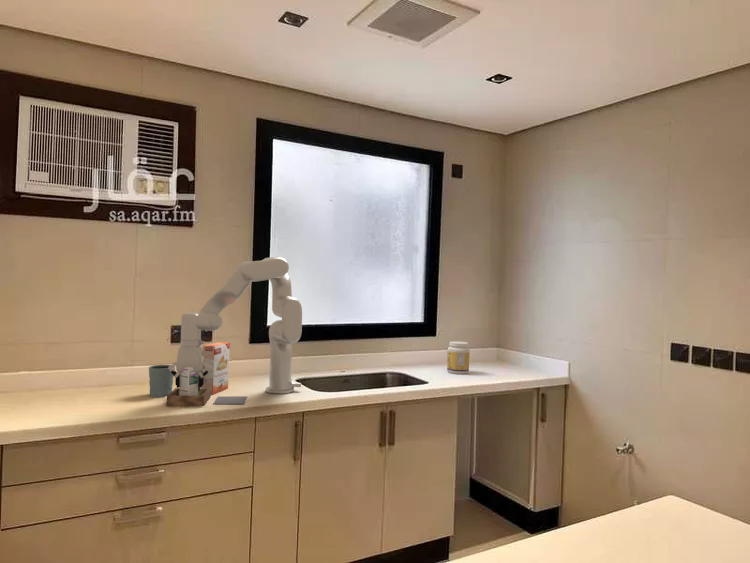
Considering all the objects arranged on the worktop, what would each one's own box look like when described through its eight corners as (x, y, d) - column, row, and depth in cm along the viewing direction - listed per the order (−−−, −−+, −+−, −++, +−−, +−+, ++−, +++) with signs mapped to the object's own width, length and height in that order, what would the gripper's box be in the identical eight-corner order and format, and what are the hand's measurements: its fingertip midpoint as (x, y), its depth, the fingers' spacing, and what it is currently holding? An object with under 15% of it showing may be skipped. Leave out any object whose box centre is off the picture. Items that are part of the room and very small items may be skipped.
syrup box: (188, 404, 204) (189, 367, 204) (178, 402, 207) (179, 366, 207) (200, 401, 209) (200, 365, 209) (190, 399, 212) (191, 364, 212)
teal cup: (142, 396, 216) (143, 367, 215) (160, 391, 225) (161, 363, 225) (162, 398, 212) (162, 369, 212) (179, 393, 222) (180, 365, 221)
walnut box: (210, 397, 216) (210, 388, 216) (203, 406, 202) (204, 396, 202) (175, 397, 214) (175, 388, 214) (166, 406, 200) (166, 396, 200)
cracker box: (213, 395, 221) (214, 346, 221) (200, 394, 222) (202, 345, 222) (229, 388, 235) (230, 342, 234) (217, 387, 236) (218, 341, 236)
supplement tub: (444, 370, 295) (445, 340, 295) (465, 370, 297) (466, 341, 296) (449, 374, 283) (450, 343, 283) (471, 374, 284) (472, 344, 284)
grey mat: (247, 397, 219) (247, 396, 219) (244, 404, 207) (244, 403, 207) (218, 397, 217) (218, 396, 217) (213, 404, 205) (213, 403, 205)
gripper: (214, 342, 213) (213, 385, 213) (170, 342, 210) (169, 385, 211) (211, 345, 205) (210, 389, 206) (165, 344, 203) (164, 389, 203)
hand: (189, 386), depth 208 cm, fingers closed on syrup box, 8 cm apart
